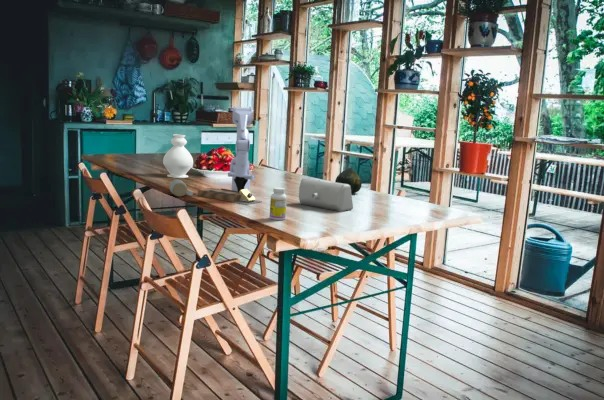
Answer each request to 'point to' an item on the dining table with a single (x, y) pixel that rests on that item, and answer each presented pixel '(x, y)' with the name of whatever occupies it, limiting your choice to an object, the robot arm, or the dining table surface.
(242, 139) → the robot arm
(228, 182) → the dining table surface
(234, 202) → the mat
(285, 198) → the supplement bottle
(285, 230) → the dining table surface
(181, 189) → the ceramic mug
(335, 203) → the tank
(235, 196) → the body
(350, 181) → the squash
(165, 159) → the decorative vase
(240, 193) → the lever cap
